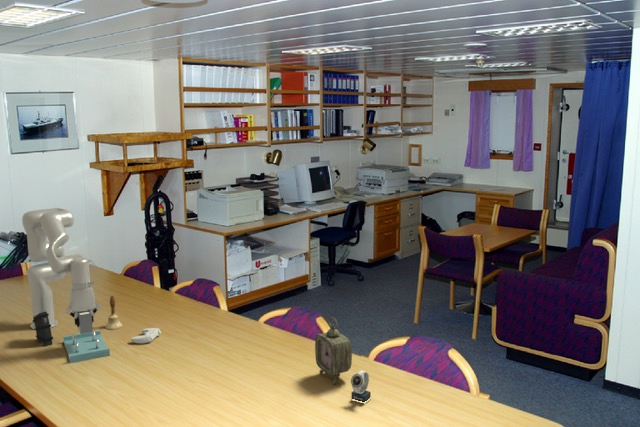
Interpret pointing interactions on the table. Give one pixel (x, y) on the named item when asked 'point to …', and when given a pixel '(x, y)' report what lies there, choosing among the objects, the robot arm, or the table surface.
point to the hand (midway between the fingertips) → (84, 324)
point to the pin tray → (85, 346)
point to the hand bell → (113, 317)
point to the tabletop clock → (333, 352)
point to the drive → (85, 322)
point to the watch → (360, 386)
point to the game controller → (146, 335)
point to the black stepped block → (43, 328)
